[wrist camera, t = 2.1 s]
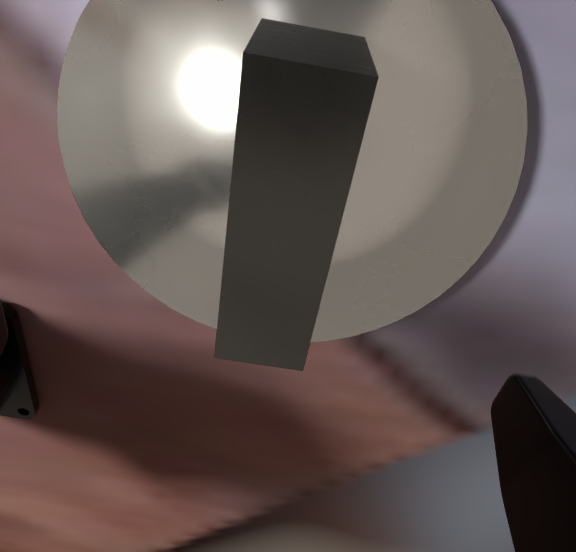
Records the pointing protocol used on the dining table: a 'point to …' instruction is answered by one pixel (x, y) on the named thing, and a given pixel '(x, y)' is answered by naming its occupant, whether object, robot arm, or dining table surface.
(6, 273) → the dining table surface
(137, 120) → the lid
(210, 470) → the dining table surface
